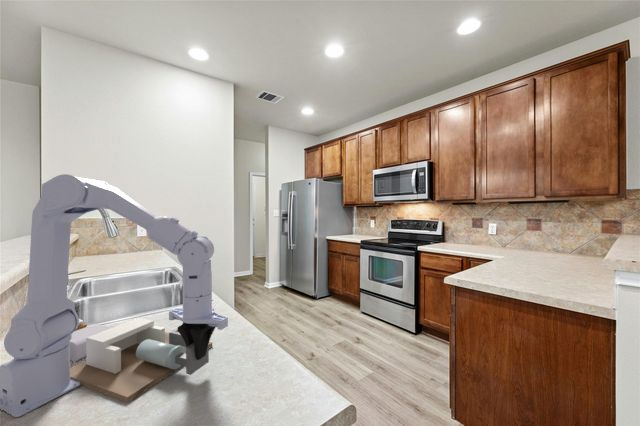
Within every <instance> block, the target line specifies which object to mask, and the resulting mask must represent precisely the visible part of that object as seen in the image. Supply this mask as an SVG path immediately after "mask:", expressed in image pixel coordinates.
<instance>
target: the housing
mask: <svg viewBox="0 0 640 426" xmlns="http://www.w3.org/2000/svg"><path fill="white" fill-rule="evenodd" d="M165 332H166V327H164V326H159V325H155V320H151V319H145V318H141V317H137V318H134V319H131V320H129V321H126V322H123V323H122V324H120V325H118V326H115V327H113V328H110V329H108V330H105V331H102V332H100V333H97V334H95V335H92V336H89V337H87V338H86V357H85V359H86V360H85V361H86V364H87V365H90V366H93V367H96V368H99V369H102V370H105V371H109V372H112V373H115V374H116V373H117V372H119V371H121V350H124V349H126V348H128V347H130V346H132V345H134V344H136V343H138V344H141V343H142V342H143V341H144V340H147V339H150V340H155V341H159V342H163V343H165ZM168 333H169V344H172V345H176V346H178V345H180V346H184V347H185V348H186V344H185V342H184V339H183V338H182V336H181V334H180V333H179V332H178V327H177V328H175V329H174V330H171V331H169V332H168Z"/></svg>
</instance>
